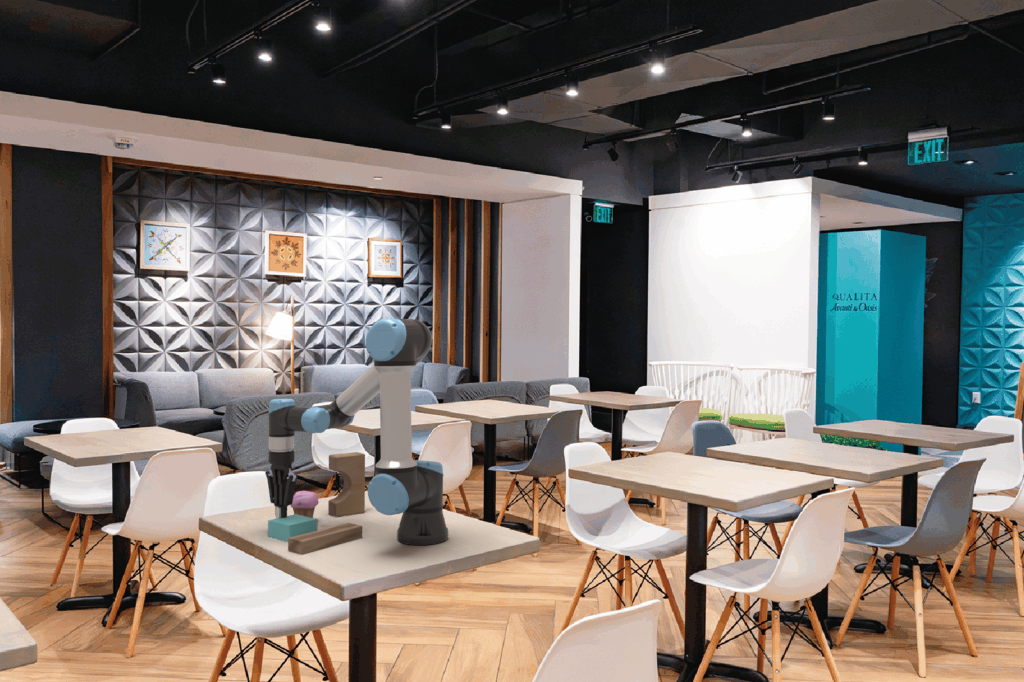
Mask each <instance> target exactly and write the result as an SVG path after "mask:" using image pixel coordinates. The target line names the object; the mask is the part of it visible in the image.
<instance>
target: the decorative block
mask: <svg viewBox="0 0 1024 682" xmlns="http://www.w3.org/2000/svg"><path fill="white" fill-rule="evenodd" d="M328 470H330V471H333V472H337V473H339V474H340V475H341V477H342V478H343V487H342V489H341V491H340V493H339V494H338V495H337V496H335V497H334V498H331V499H329V500H328V502H327V503H328V505H327V506H328V507H327V508H328V509H327V511H328V515H329V514H330V516H333V517H335V518H339V517H344V516H345V515H346V516H351V515H352V514H353V515H359V514H364V513H365V512H366V509H365V508H366V505H365V504H366V503H365V502H366V500H365V499H366V498H365V497H366V496H365V495H366V490H365V489H366V454H365V453H363V452H358V451H356V452H355V451H354V452H353V451H352V452H344V453H343V452H342V453H334V454H333V453H332V454H329V455H328ZM346 516H345V517H346Z"/></svg>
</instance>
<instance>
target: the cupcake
mask: <svg viewBox="0 0 1024 682" xmlns="http://www.w3.org/2000/svg"><path fill="white" fill-rule="evenodd" d="M319 503H320V502H319V497H318V495H317V493H316V492H314V491H309V490H308V491H307V490H298V491H296V492H294V496H293V502H292V505H290V508H292V510H293V513H294V514H293V515H295V514H297V515H301V516H306V517H310V518H314V514H315V509H316V506H318V505H319Z"/></svg>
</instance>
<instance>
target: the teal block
mask: <svg viewBox="0 0 1024 682" xmlns="http://www.w3.org/2000/svg"><path fill="white" fill-rule="evenodd" d="M314 531H318V519H317V518H314V517H313V518H310V517H306V516H301V515H297V514H295V515H294V514H291V515H287V517H285V518H277V519H276V518H273V519H269V520H267V538H271V537H272V538H271V539H275V538H276V540H279V541H282V540H284V541H283V542H286V541H287V543H288V538H291V537H295V536H298V535H302V534H306V533H310V532H314Z"/></svg>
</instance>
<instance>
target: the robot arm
mask: <svg viewBox="0 0 1024 682" xmlns="http://www.w3.org/2000/svg"><path fill="white" fill-rule="evenodd" d="M432 337H433V336H432V333H431V330H430V328H429V327H428V326H427V325H426V323H423V322H422V321H421V320H418V319H414V318H413V319H411V318H409V319H408V318H399V317H398V318H397V317H394V318H393V317H391V318H390V317H389V318H382V319H379V320H377V321H375V322H374V323H373V324H372V325H371V326H370V328H369V329H368V330H367V333H366V336H365V349H366V351H367V354H369V356H370V358H372V359H373V364H372V365H371V366H370V367H369V368H367V370H366V371H364V372H363V373H362V374H361V375H360V376H359V377H358V378H357V379H356V380H355V381H354V382H353V383H351V384H350V386H348V387H347V388H346V389H345V390H344V391H343V392H342V393H341V394H339V395H338V396H337V398H335V399H334V400H333V401H332V402H331V403H329V404H324V405H323V404H322V405H315V406H298V405H296V402H295V400H294V399H292V398H274V399H271V400H270V401H269V405H268V413H267V414H268V449H269V451H268V464H270V465H271V466H270V469H269V470H267V471H265V472H264V473H265V476H266V480H267V486H268V494H269V501H270V504H273V505H274V508H275V511H274V512H275V513H274V514H275V519H277V518H285V517H287V516H288V506H291V505H292V502H293V496H294V495H295V488H296V483H297V480H298V477H299V475H298V473H297V474H295V473H294V472H293V466H292V464H293V463H295V451H294V448H295V433H296V432H297V433H299V432H300V433H309V434H321V433H324V432H325V431H326V430H331V429H332V430H333V429H340V428H341V429H342V428H344V427H347V426H349V425H351V424H352V423H353V422H354V418H355V415H356V414H357V413H358V412H359V411H360V410H362V408H364V407H365V406H366V405H367V404H369V402H370V401H371V400H372V399H374V398H375V397H377V395H378V394H379V411H380V412H379V415H380V416H379V417H380V418H379V419H380V424H379V425H380V428H379V430H380V432H379V433H380V460H379V461H378V462H376V464H375V466H374V467H375V476H373V477H372V478H371V480H370V481H369V482H368V486H367V497H368V500H369V502H370V504H371V505H372V507H373V508H375V510H376V511H377V512H379V513H380V514H382V515H385V516H393V515H394V516H395V515H400V514H402V516H401V519H400V522H399V525H398V529H397V531H396V540H397V541H398V542H399V543H402V544H404V545H405V544H406V545H410V546H413V545H414V546H427V545H428V546H429V545H436V544H441V543H444V542H446V541H447V540H449V529H448V527H447V523H446V521H445V516H444V512H443V509H444V508H443V503H444V502H443V501H444V500H443V498H444V470H443V469H444V467H443V464H442V463H441V462H439V461H433V460H432V461H431V460H420V459H414V458H413V452H412V451H413V447H412V445H413V444H412V443H413V442H412V440H413V439H412V437H413V436H412V387H411V386H412V385H411V383H412V381H411V378H412V377H411V376H412V375H411V373H412V372H413V370H414V369H415V368H417V364H418V363H420V362H421V361H422V360H423V359H424V358H425V357H426V356H427V354H428V353H429V351H430V349H431V347H432V343H433V338H432Z"/></svg>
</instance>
